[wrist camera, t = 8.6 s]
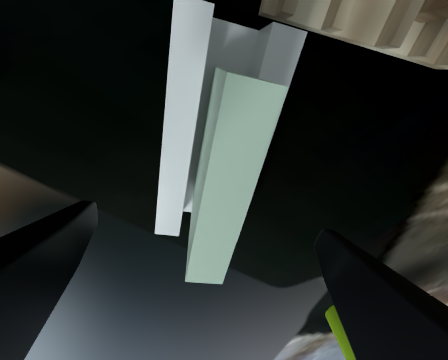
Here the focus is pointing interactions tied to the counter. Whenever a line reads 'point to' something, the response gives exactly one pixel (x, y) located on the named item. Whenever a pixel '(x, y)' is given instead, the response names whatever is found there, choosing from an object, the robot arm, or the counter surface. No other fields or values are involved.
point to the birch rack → (369, 26)
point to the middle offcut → (432, 11)
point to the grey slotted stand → (200, 90)
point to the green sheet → (228, 167)
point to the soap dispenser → (339, 333)
